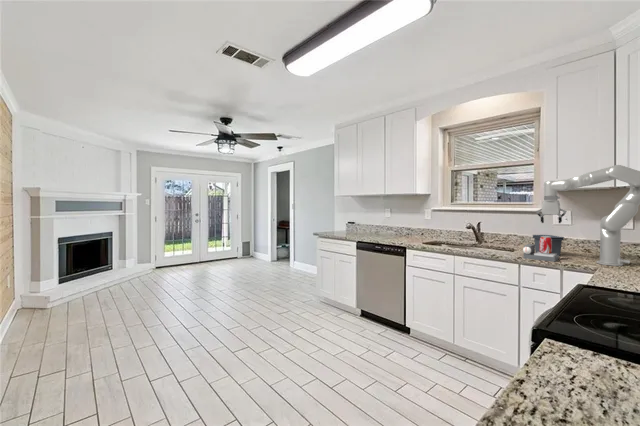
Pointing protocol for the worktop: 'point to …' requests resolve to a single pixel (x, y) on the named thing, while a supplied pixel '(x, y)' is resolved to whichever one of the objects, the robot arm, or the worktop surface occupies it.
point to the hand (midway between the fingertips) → (551, 223)
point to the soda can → (545, 245)
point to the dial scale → (538, 254)
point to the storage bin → (555, 243)
